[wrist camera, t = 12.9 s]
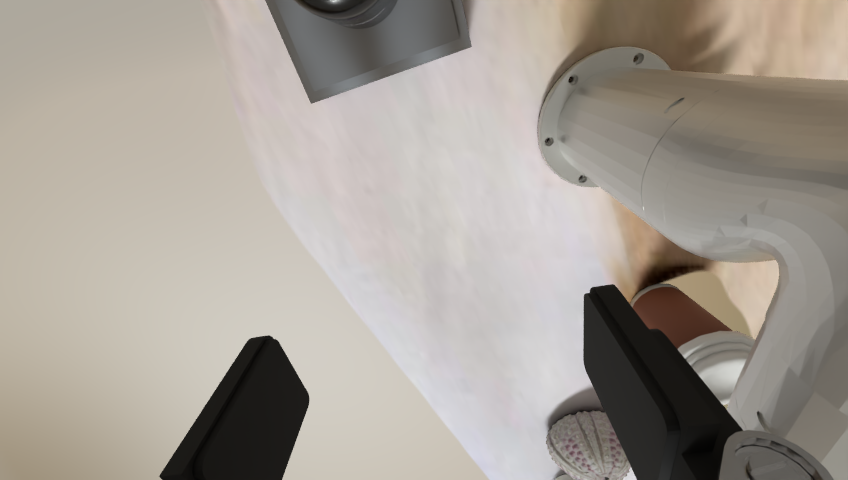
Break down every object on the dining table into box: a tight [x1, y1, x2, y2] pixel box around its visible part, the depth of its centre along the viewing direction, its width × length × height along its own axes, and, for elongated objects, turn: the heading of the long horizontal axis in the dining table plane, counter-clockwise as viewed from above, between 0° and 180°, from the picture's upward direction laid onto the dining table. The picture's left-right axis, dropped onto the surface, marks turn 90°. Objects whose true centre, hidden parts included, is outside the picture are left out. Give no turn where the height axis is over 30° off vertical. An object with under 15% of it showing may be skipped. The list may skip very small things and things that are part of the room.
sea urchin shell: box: [546, 410, 631, 480], centre depth 53 cm, size 13×14×8 cm
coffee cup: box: [630, 284, 755, 405], centre depth 38 cm, size 9×9×12 cm
